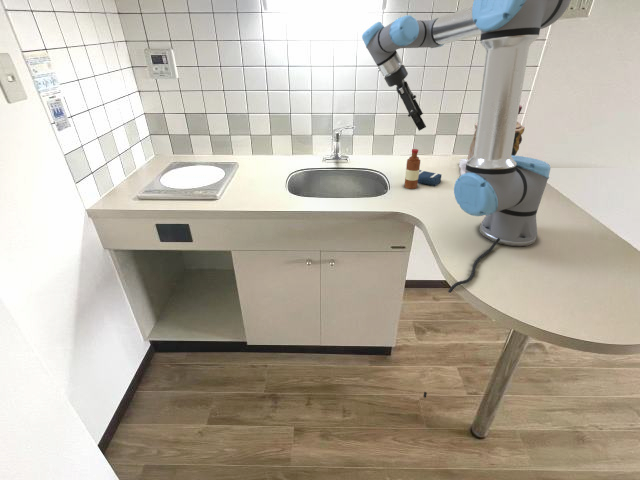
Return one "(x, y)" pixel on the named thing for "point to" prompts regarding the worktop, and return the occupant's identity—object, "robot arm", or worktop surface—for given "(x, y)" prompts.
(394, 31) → the robot arm
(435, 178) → the towel
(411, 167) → the bottle
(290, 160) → the worktop surface
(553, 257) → the worktop surface
